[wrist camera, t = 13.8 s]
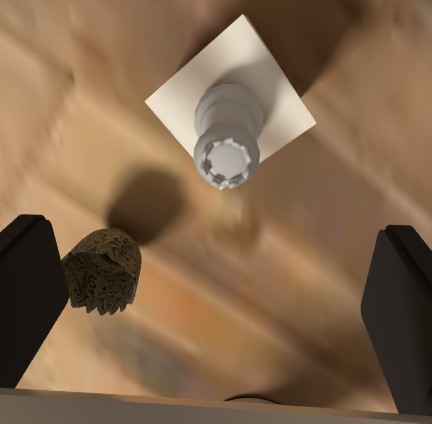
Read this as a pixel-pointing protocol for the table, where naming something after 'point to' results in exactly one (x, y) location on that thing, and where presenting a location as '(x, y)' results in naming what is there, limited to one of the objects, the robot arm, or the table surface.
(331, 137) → the table surface
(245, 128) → the rook chess piece
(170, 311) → the table surface
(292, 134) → the tower top
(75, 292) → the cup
